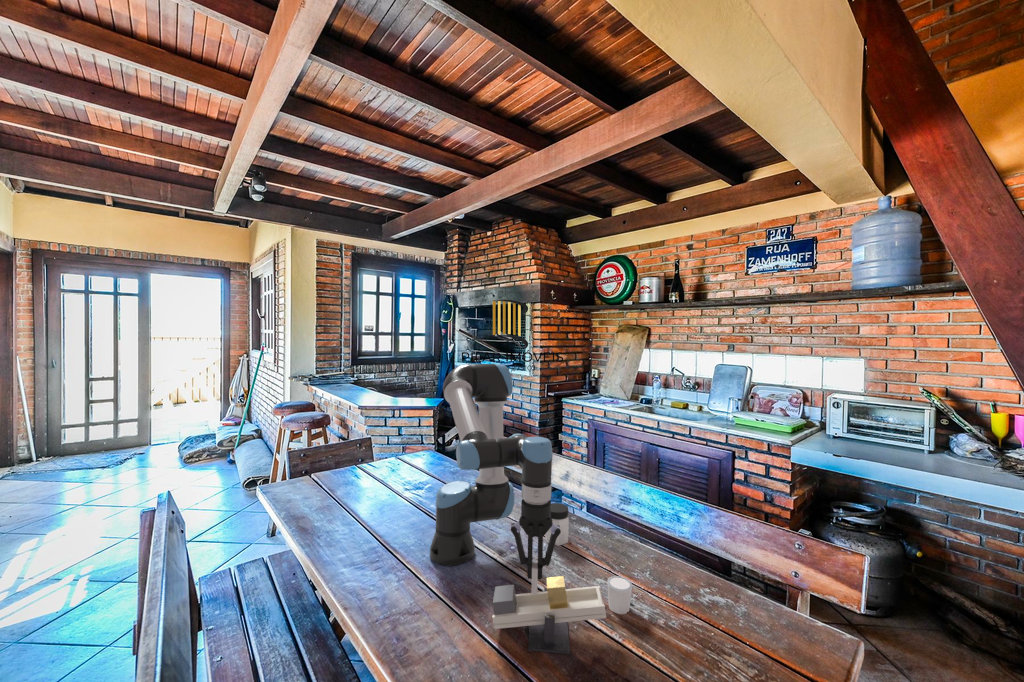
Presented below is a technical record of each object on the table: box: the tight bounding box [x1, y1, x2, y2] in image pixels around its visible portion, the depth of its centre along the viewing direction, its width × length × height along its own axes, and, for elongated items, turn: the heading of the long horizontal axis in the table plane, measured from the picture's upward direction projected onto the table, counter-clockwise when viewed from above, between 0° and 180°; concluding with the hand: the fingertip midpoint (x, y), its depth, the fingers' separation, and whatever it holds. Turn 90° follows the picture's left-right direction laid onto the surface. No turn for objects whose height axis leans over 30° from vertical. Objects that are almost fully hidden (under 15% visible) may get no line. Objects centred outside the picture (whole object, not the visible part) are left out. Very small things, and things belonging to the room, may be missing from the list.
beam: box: [491, 584, 607, 630], centre depth 106 cm, size 28×9×6 cm, turn 86°
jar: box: [544, 502, 570, 547], centre depth 152 cm, size 9×8×12 cm
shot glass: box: [606, 575, 633, 615], centre depth 116 cm, size 7×7×7 cm
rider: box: [546, 575, 568, 609], centre depth 106 cm, size 4×4×6 cm
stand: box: [528, 587, 571, 655], centre depth 106 cm, size 10×14×8 cm
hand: (534, 590), depth 106 cm, fingers closed
